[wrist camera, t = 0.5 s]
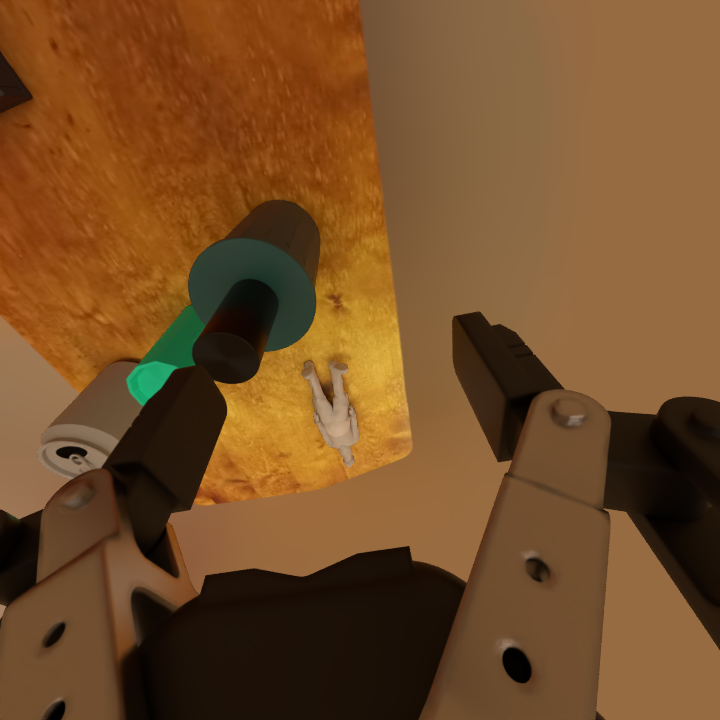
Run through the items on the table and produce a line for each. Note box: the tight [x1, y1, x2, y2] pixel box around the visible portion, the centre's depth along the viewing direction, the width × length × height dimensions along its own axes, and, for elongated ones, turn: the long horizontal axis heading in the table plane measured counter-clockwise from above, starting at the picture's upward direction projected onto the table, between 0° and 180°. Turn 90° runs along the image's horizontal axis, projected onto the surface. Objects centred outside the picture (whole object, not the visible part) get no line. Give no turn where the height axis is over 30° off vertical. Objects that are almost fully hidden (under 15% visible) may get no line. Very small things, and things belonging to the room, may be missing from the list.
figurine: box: [302, 361, 359, 467], centre depth 42 cm, size 7×4×18 cm
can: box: [37, 361, 144, 479], centre depth 34 cm, size 8×8×12 cm
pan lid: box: [188, 236, 316, 384], centre depth 17 cm, size 8×8×7 cm
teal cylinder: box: [224, 200, 320, 288], centre depth 25 cm, size 7×7×12 cm
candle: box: [126, 305, 214, 406], centre depth 30 cm, size 6×6×12 cm
